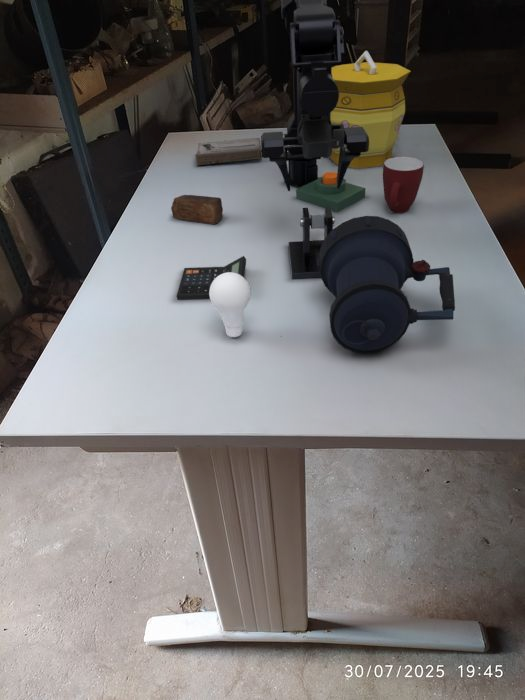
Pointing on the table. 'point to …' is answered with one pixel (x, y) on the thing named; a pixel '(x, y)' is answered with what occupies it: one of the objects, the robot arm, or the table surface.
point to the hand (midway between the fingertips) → (313, 188)
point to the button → (330, 178)
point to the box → (228, 151)
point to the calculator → (205, 279)
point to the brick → (197, 208)
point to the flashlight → (375, 283)
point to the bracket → (308, 248)
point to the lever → (317, 221)
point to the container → (370, 106)
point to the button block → (330, 194)
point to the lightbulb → (230, 300)
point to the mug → (401, 182)
